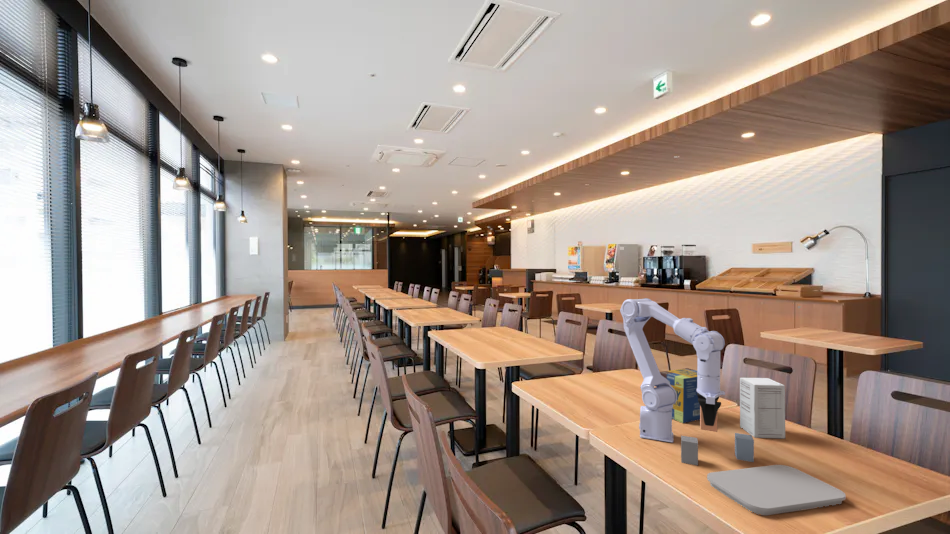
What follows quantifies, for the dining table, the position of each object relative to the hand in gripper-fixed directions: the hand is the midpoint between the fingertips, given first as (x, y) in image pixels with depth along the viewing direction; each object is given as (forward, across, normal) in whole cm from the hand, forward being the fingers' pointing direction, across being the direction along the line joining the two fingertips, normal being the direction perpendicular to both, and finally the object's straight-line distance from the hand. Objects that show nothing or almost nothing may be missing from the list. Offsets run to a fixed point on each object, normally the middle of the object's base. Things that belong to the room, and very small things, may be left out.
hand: (708, 422), depth 120 cm
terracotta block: (+2, 0, 0) cm, 2 cm away
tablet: (+10, -16, -12) cm, 22 cm away
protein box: (+10, +34, +5) cm, 36 cm away
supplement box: (+10, +27, -17) cm, 33 cm away
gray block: (+10, -6, +5) cm, 12 cm away
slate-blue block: (+10, +3, -9) cm, 13 cm away
